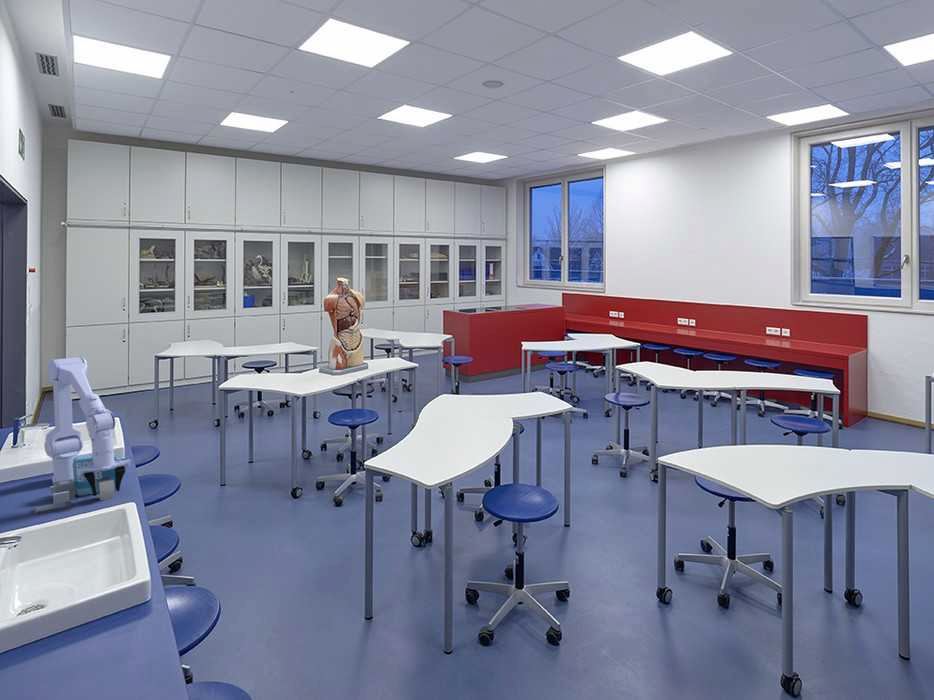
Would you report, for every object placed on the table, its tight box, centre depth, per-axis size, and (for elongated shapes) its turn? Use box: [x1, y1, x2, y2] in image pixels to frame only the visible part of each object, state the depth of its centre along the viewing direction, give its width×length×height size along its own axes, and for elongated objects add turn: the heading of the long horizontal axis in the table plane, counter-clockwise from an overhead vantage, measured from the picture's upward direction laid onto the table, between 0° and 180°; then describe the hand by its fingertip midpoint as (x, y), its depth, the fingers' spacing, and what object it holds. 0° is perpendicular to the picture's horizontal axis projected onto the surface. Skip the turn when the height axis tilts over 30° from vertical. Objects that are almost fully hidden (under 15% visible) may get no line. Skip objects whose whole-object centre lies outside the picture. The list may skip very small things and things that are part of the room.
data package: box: [72, 452, 118, 497], centre depth 192 cm, size 12×4×12 cm, turn 121°
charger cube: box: [53, 479, 76, 500], centre depth 187 cm, size 5×5×5 cm
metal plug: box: [97, 476, 116, 502], centre depth 187 cm, size 4×4×6 cm
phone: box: [33, 500, 73, 516], centre depth 179 cm, size 5×9×1 cm, turn 127°
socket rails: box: [49, 485, 71, 504], centre depth 187 cm, size 9×4×3 cm, turn 39°
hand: (106, 492), depth 187 cm, fingers open, 6 cm apart
